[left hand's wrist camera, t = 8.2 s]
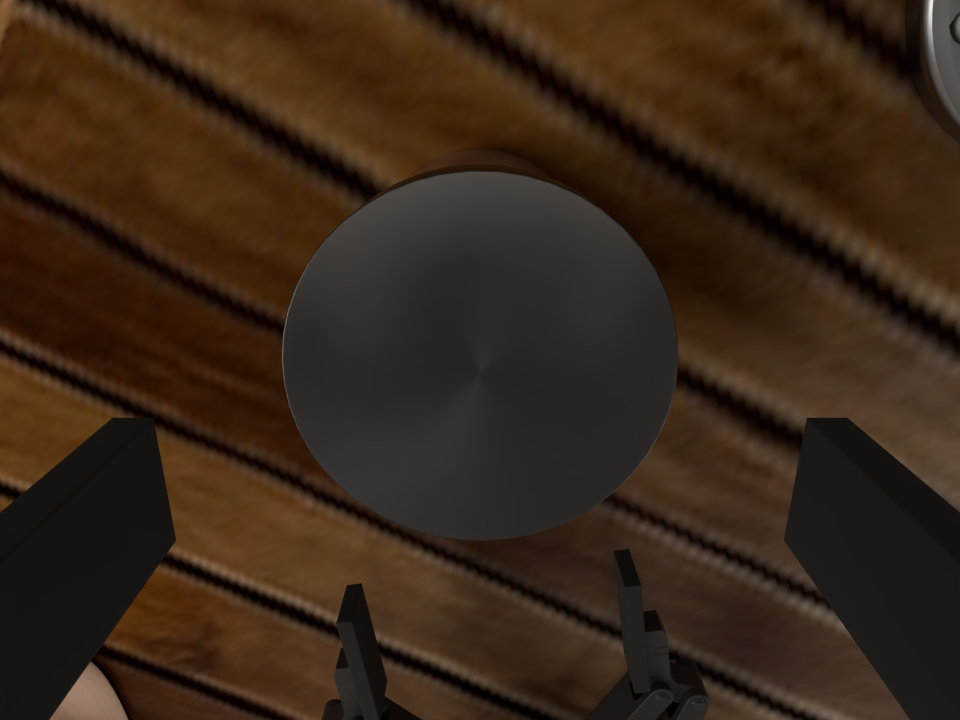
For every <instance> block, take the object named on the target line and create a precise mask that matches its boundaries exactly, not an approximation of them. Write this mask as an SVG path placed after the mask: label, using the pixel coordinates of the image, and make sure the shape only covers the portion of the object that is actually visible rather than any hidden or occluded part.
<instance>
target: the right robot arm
mask: <svg viewBox="0 0 960 720" xmlns="http://www.w3.org/2000/svg"><path fill="white" fill-rule="evenodd" d="M614 559H615V569H616V579H617V588H618V598H619V608H620V618H621V628H622V637H623V647H624V654H625V658H626V662H627V665H628V669H629V671H628V672H627V673H626V674H625V675H624V676H623V678H622V679H621V680H620V681H619V682H618V683H617V684H616V685H615V687H614V688H613V689H612V690H611V691H610V692H609V693H608V694H607V696H606V697H605V698H604V699H603V700H602V701H601V702H600V703H599V705H598V706H597V707H596V708H595V709H594V710H593V711H592V712H591V714H590V715H589V716H588V717H587V718H586V719H585V720H702V719H703V717H704V715H705V713H706V712H707V710H708V708H709V706H710V700H709V697H708V695H707V692H706V690H705V687H704V684H703V682H702V679H701V677H700V674H699V672H698V669H697V666H696V664H695V662H694V661H693V660H691V659H688V658H684V659H680V660H678V661H677V662H676V663H672V662H669V654H668V641H667V636H666V633H665V630H664V627H663V624H662V622H661V619H660V617H659V615H658V613H657V612H656V610H653V611H645V612H643V604H642V592H641V584H640V581H639V578H638V575H637V572H636V569H635V566H634V563H633V560H632V557H631V554H630V551H629V549H626V550H619V551H614ZM336 624H337V627H338V631H339V634H340V638H341V641H342V645H343V648H341V651H340V654H339V658H338V662H337V666H336V670H335V675H334V679H335V682H336V686H337V689H338V692H339V696H340V699H341V700H338V699H333V700H330V701H328V702H327V703H326V706H325V710H324V713H323V717H322V720H421V719H420V718H418V717H416V716H415V715H413V714H412V713H410V712H408V711H407V710H405V709H404V708H402V707H401V706H399V705H397V704H396V703H394V702H393V701H391V700H390V699H388V698H386V697H385V690H386V684H387V679H386V675H385V671H384V667H383V663H382V660H381V656H380V652H379V648H378V644H377V641H376V637H375V633H374V629H373V626H372V622H371V618H370V614H369V610H368V607H367V603H366V599H365V595H364V591H363V588H362V584H353V585H347V587H346V591H345V594H344V598H343V601H342V605H341V608H340V612H339V616H338V619H337V623H336Z"/></svg>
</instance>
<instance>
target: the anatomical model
mask: <svg viewBox="0 0 960 720" xmlns="http://www.w3.org/2000/svg"><path fill="white" fill-rule="evenodd" d="M50 720H128V718H127V715H126V713H125V711H124V709H123V707H122V705H121V703H120V701H119V699H118V697H117V695H116V693H115V691H114V689H113V688H112V686H111V685H110V683H109V681H108V680H107V678H106V677H105V676H104V675H103V673H102V672H101V671H100V670H99V668H98V667H97V666H96V665H94V664H93V663H92V662H90V663H89V665H88V666H87V667H86V669H85V670H84V672H83V673H82V674H81V676H80V677H79V679H78V680H77V682H76V683H75V684H74V686H73V687H72V689H71V690H70V692H69V693H68V694H67V696H66V697H65V699H64V700H63V701H62V703H61V704H60V706H59V707H58V709H57V710H56V711H55V713H54V714H53V716H52V717H51V718H50Z"/></svg>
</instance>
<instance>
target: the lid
mask: <svg viewBox="0 0 960 720" xmlns="http://www.w3.org/2000/svg"><path fill="white" fill-rule="evenodd" d="M282 367H283V378H284V385H285V390H286V394H287V398H288V402H289V407H290V409H291V412H292V414H293V417H294V420H295V422H296V425H297V427H298V430H299V432H300V433H301V435H302V437H303V439H304V441H305V443H306V444H307V446H308V448H309V450H310V451H311V453H312V454H313V455H314V457H315V458H316V460H317V461H318V462H319V464H320V465H321V466H322V468H323V469H324V470H325V471H326V472H327V473H328V474H329V475H330V477H331V478H332V479H333V480H334V481H335V482H336V483H337V484H338V485H339V486H340V487H341V488H342V489H344V490H345V491H346V492H347V493H348V494H350V495H351V496H352V497H353V498H354V499H356V500H357V501H358V502H360V503H361V504H363V505H364V506H366V507H367V508H369V509H370V510H372V511H374V512H375V513H377V514H379V515H381V516H383V517H385V518H387V519H389V520H391V521H393V522H395V523H397V524H399V525H402V526H405V527H407V528H410V529H413V530H416V531H418V532H422V533H426V534H430V535H435V536H439V537H444V538H452V539H460V540H485V541H489V540H500V539H510V538H516V537H521V536H525V535H530V534H535V533H538V532H541V531H544V530H547V529H550V528H553V527H556V526H559V525H561V524H563V523H565V522H567V521H569V520H572V519H574V518H576V517H578V516H580V515H581V514H583V513H585V512H586V511H588V510H590V509H591V508H593V507H594V506H596V505H598V504H599V503H600V502H602V501H603V500H604V499H605V498H607V497H608V496H609V495H611V494H612V493H613V492H614V491H616V490H617V489H618V488H619V487H620V486H621V485H622V484H623V483H624V482H625V481H626V480H627V479H628V478H629V477H630V476H631V475H632V474H633V473H634V471H635V470H636V469H637V468H638V466H639V465H640V464H641V462H642V461H643V460H644V458H645V457H646V456H647V455H648V453H649V451H650V449H651V448H652V446H653V444H654V443H655V441H656V439H657V438H658V436H659V434H660V432H661V429H662V427H663V425H664V422H665V420H666V418H667V415H668V413H669V409H670V406H671V402H672V398H673V395H674V391H675V385H676V378H677V370H678V339H677V333H676V326H675V320H674V315H673V312H672V308H671V305H670V302H669V299H668V295H667V292H666V290H665V288H664V286H663V284H662V281H661V279H660V277H659V275H658V273H657V271H656V269H655V267H654V266H653V264H652V263H651V261H650V260H649V258H648V257H647V255H646V254H645V252H644V251H643V249H642V248H641V246H640V245H639V244H638V243H637V242H636V241H635V240H634V239H633V237H632V236H631V235H630V234H629V233H628V232H627V231H626V230H625V228H624V227H623V226H621V225H620V224H619V223H618V222H617V221H616V220H614V219H613V218H612V217H611V216H610V215H608V214H607V213H606V212H605V211H604V210H603V209H601V208H600V207H599V206H598V205H597V204H595V203H594V202H593V201H592V200H590V199H589V198H587V197H586V196H584V195H582V194H581V193H579V192H578V191H576V190H575V189H573V188H571V187H570V186H568V185H565V184H563V183H561V182H559V181H557V180H554V179H552V178H550V177H548V176H545V175H542V174H538V173H535V172H532V171H528V170H525V169H521V168H515V167H509V166H502V165H490V164H468V165H459V166H451V167H444V168H440V169H436V170H432V171H428V172H424V173H421V174H418V175H415V176H413V177H411V178H408V179H406V180H403V181H401V182H398V183H396V184H394V185H393V186H391V187H389V188H388V189H386V190H384V191H382V192H381V193H379V194H377V195H376V196H374V197H373V198H371V199H370V200H369V201H368V202H366V203H365V204H364V205H363V206H361V207H360V208H359V209H358V210H356V211H355V212H354V213H353V214H351V215H350V216H349V217H348V218H346V219H345V220H344V221H343V222H342V223H341V224H340V225H339V226H338V227H337V228H336V229H335V230H334V231H333V232H332V233H331V234H330V235H329V236H328V237H327V238H326V239H325V240H324V242H323V243H322V244H321V246H320V247H319V248H318V250H317V251H316V253H315V254H314V255H313V257H312V258H311V260H310V261H309V262H308V264H307V266H306V268H305V270H304V272H303V274H302V276H301V277H300V279H299V281H298V283H297V285H296V288H295V290H294V293H293V296H292V299H291V302H290V305H289V308H288V311H287V316H286V321H285V327H284V332H283V344H282Z"/></svg>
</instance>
